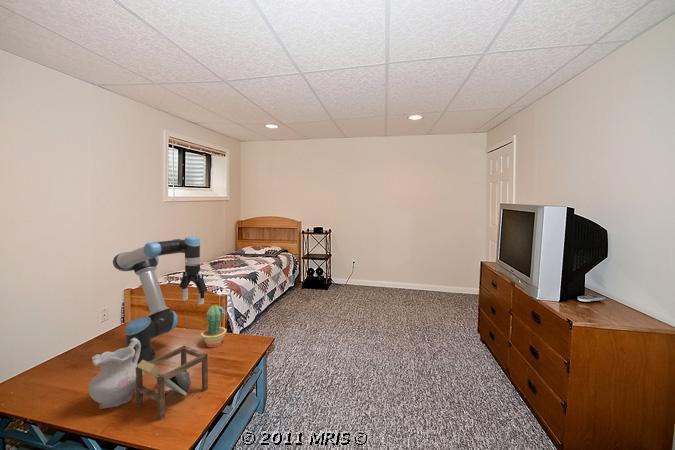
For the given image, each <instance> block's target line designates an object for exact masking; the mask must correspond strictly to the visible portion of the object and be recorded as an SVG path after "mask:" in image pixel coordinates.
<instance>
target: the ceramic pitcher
mask: <svg viewBox="0 0 675 450" xmlns="http://www.w3.org/2000/svg"><path fill="white" fill-rule="evenodd" d="M134 346H135V347H136V352H135V350H134V349H133V348H134ZM140 350H141V343H140V341H139V340H137V338H135V337H134V338H132V339H130V344H129V346H128V347H127V348H126V347H122V348H119V349H116V350H115V351H104V352H103V353H101V354H99V353H97V354H95V355H93V356H92V357H91V362H92V365H93V366H94V367H100V372H99V373H97V374H96V375H95V376H93V378H92V379H91V380H90V382H89V384H88V393H89V396H90V397H91V399H92V400H93V401H94V402H95V403H98V404H99V405H98V409H100V410H102V409H108V408H117V407H118V408H119V407H121V406H123V405H125V404H127V403H128V402H130V401H132V400H133V397H134V394H135V393H136V367H137V365H138V364H137V362H138V359H139V356H140ZM134 354H135V356H134ZM133 357H134V361H133V362H132V360H133ZM142 373H143V374H144V371H142Z"/></svg>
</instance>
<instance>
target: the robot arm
mask: <svg viewBox="0 0 675 450" xmlns="http://www.w3.org/2000/svg"><path fill="white" fill-rule="evenodd" d="M172 254H175V255H176V254H184V271H182V277H181V280H180V283H179V288H180V289H182V291H181V292H182V294H181V295H182V301H187V300H189V288H188V286H189V284H190V283H191V282H192V283H194V284H195V286H196V288H197V291H198V305H199V306H200V305H203V304H205V292H208V289H207V286H206V282H205V280H204V279H205V278H204V275H203V274H202V273H201V274H199V272H200V271H201V242H200V237H199V236H186V237H185V238H184V239H181V238H174V239H172V240H171V239H170V240H162V241H151V242H147V243H145V245H144V246H142V247H139V248H137V249H135V250H130V251H123V252H121V253H118V254H116V255H115V256H114V257H113V259H112V265H113V267H114V268H115V269H116V270H118V271H120V272H133V271H134V275H136V276H139V281H140V283H141V288H142V289H143V290H142V291H143V293H144V296H145V300H146V304H147V305H148V309H149V314H148V316H141V317H138V318H135V319H132V320H130V321H129V322H128V323H127V324H126V326H125V345H126V347H125V348H127V347H128V346H129V344H130V339H132V338H134V337H135V338H137V340H139V341H140V343H141V350H140V356H139V359H138V362H137V364H139V363H140V362H141V361H142V360H145V361H147V362H149V361H151V360H153V359H156V351H155V350H154V348H153V346H152V339H154V338H157V337H159V336H162V335H165V334H168V333H170V332H171V331H174V329H176V327H177V326H178V325H177V324H178V321H179V319H178V314H177V313H176V311H175V310H171V308H170V307H168V306H167V305H166V302H165V298H164V295H163V292H162V288H161V286H160V283H159V279H158V278H157V277H158V276H157V273H156V269H157V266H158V264H159V257H160V256H161V257H162V256H166V255H172ZM133 349H134V350H135V352H136V347H135V346H134V348H133ZM134 356H135V354H134ZM133 361H134V357H133V360H132V362H133Z"/></svg>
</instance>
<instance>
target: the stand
mask: <svg viewBox="0 0 675 450" xmlns="http://www.w3.org/2000/svg"><path fill="white" fill-rule="evenodd" d="M179 354H180V366H178V367H176V368H173V369H172V370H170V371H168V373H167V372H165V373H163V374H164V375H162V376H160V377H158V378H156V389H157V391H154V390H152V389H151V388H149V387H147V386H145V385H143V383H144V382H143V381H144V372H143V373H142V370H141V369H140V368H138V367H136V391H135V395H136V396H135V398H136V400H135V401H136V407H138V408H140V407H142V406H143V405H144V396H147V397H148V398H149V399H152V400H153V401H156V402H157V419H158V420H160V421H161V420H163V419H164V418H165V417H166V411H165V410H166V408H165V407H166V406H165V405H166V400H165V399H166V398H165V384H164V381H166V380H168V379H170V378H172V377H174V376H176V375H177V374H179V373H181V372H183V371H184V372H188V369H191V368H192V367H194V366H196V365H198V364H200V363H201V391H202V392H206V391H208V389H209V381H208V380H209V379H208V378H209V368H208V367H209V366H208V365H209V363H208V360H209V359H208V353H205V352H202V351H200V350H196V349H194V348H191V347H189V346H186V345H183V346H180V347H178V348H175V349H174V350H171V351H168V352H167V353H165V354H162V355H161V356H158V357H155V359H153V360H151V361H149V363H151V364H154V365H155V366H156V365H158V364H160V363H162V362H164V361H167V360H169V359H171V358H173V357H175V356H177V355H179ZM187 354H188V355H189V356H193V357H195V358H194V359H191V360H189V361H188V362H187Z"/></svg>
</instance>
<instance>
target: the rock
mask: <svg viewBox="0 0 675 450" xmlns="http://www.w3.org/2000/svg"><path fill="white" fill-rule="evenodd" d="M168 372H169V371H168ZM168 372H166V373H168ZM170 380H171V381H172V382H173V383H175V384H176V385H177V386H178V387H180V388H181V389H182V390H184V391H185V392H186V393H187V392H189V390H190V387H191V385H192V381H191V376H190V372H189V371H187V372H184V371H183V372H181V373H179V374H177V375H176V376H174V377H172V378H170Z"/></svg>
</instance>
